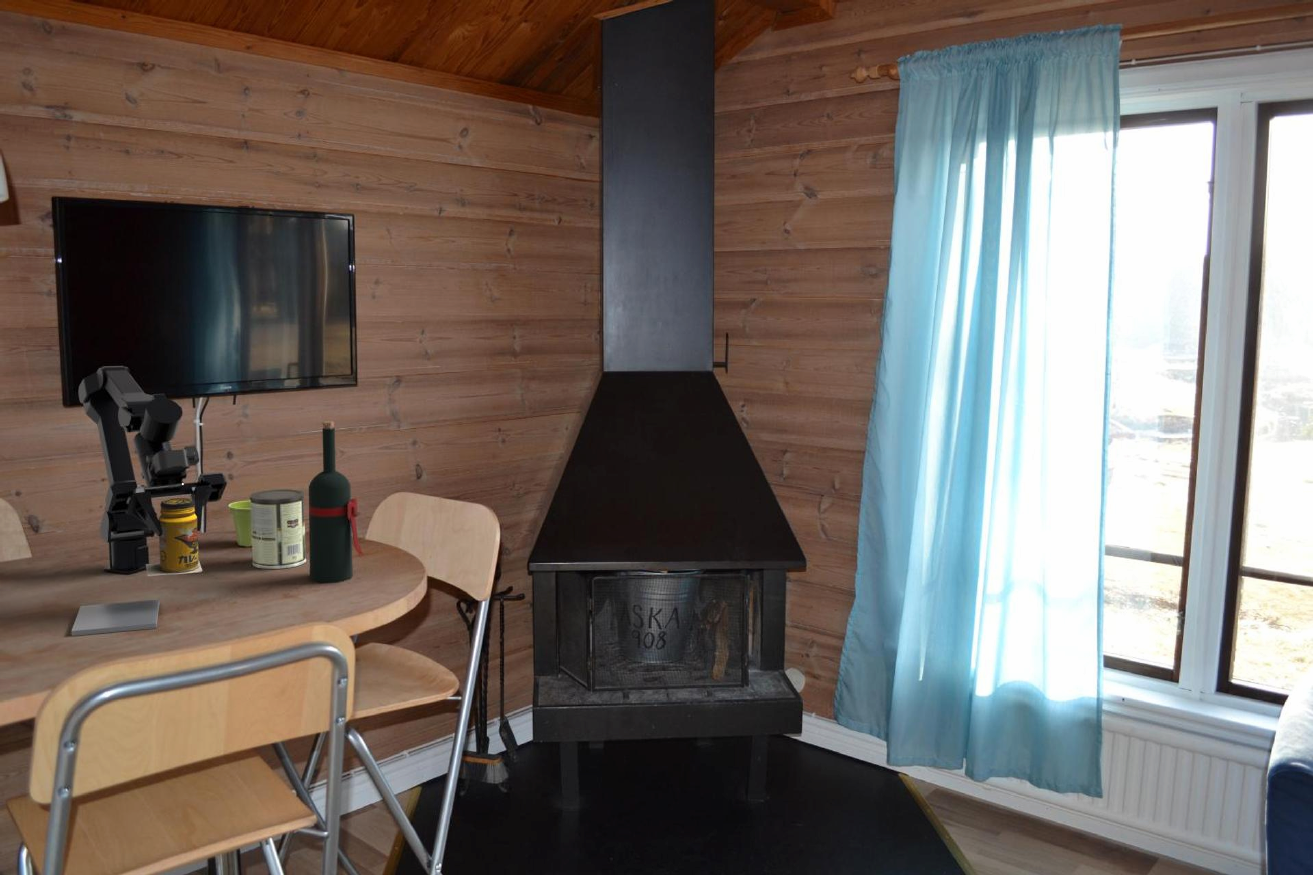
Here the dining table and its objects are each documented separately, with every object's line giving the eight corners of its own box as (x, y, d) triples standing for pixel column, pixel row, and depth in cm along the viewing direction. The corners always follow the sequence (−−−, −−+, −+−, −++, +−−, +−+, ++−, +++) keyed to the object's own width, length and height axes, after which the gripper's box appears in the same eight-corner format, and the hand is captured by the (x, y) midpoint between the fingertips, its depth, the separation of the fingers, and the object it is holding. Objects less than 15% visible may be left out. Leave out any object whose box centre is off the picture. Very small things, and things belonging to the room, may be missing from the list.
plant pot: (248, 537, 232) (247, 498, 231) (285, 541, 229) (284, 501, 228) (219, 546, 223) (218, 506, 222) (257, 550, 220) (256, 510, 219)
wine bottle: (354, 584, 197) (351, 425, 193) (302, 581, 198) (298, 423, 194) (370, 573, 204) (368, 420, 200) (320, 570, 206) (317, 418, 202)
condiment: (202, 572, 179) (200, 503, 178) (147, 577, 175) (144, 507, 174) (199, 561, 186) (196, 494, 184) (145, 566, 182) (143, 498, 180)
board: (81, 610, 178) (80, 605, 177) (159, 603, 182) (159, 599, 182) (71, 635, 165) (71, 631, 165) (156, 627, 170) (156, 623, 169)
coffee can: (269, 554, 217) (267, 487, 215) (315, 558, 215) (314, 490, 213) (241, 567, 207) (238, 497, 205) (289, 571, 205) (287, 500, 203)
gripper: (107, 434, 174) (129, 512, 168) (221, 427, 187) (246, 499, 180) (96, 474, 181) (117, 549, 175) (207, 464, 194) (231, 534, 187)
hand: (179, 532), depth 179 cm, fingers closed on condiment, 6 cm apart
